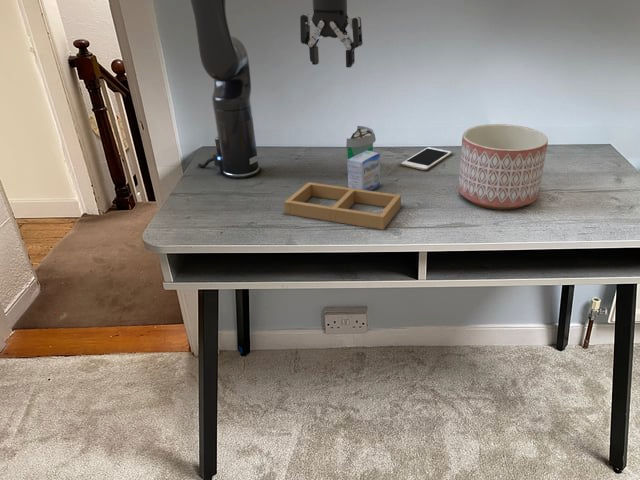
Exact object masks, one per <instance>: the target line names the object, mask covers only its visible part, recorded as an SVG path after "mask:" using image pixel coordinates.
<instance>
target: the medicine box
mask: <svg viewBox="0 0 640 480" xmlns="http://www.w3.org/2000/svg"><path fill="white" fill-rule="evenodd" d="M380 158H381V154H380V153H379V152H376V151H373V152H372V151H364V152H362V153H360V154H358V155H356V156H354V157H352V158H350V159H348V158H347V159H346V163H347V186H348V187H347V188H353V189H361V190H368V191H374V190H375V189H377V188H378V187H380V186H381V166H380V165H381V159H380Z"/></svg>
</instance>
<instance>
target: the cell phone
mask: <svg viewBox="0 0 640 480" xmlns="http://www.w3.org/2000/svg"><path fill="white" fill-rule="evenodd" d="M451 155H452V151H451V150H446V149H442V148H441V149H440V148H436V147H432V146H428V147H427V146H426V148H423V149H422V150H420V151H419V152H417V153H415V154H414V155H411V157H409V158H407V159H405V160H404V161H402V162H401V166H403V167H408V168H412V169H418V170H420V171H427V170H429V169H430V168H432V167H433V166H435V165H436V164H438V163H439V162H441V161H443V160H444V159H446V158H447V157H449V156H451Z"/></svg>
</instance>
